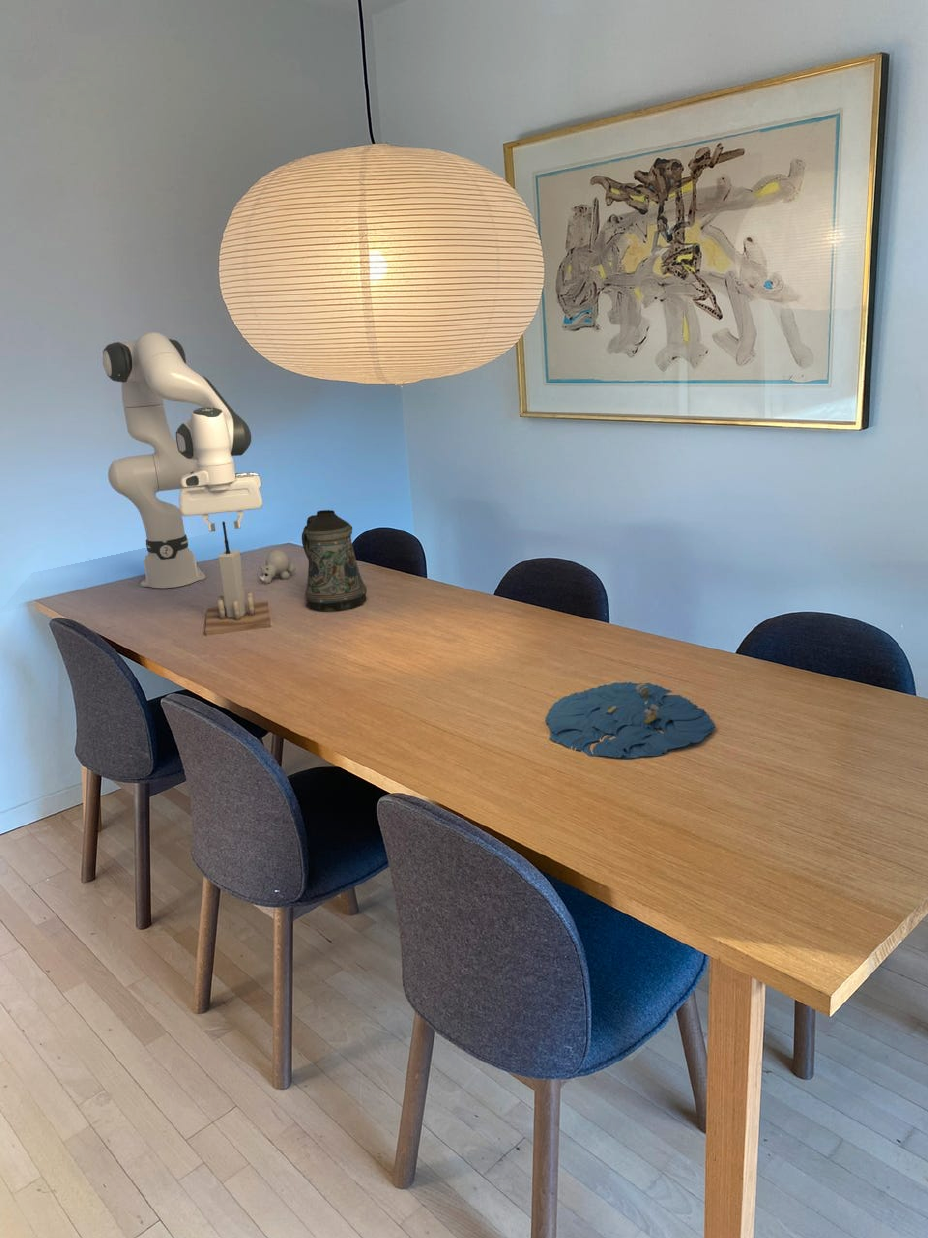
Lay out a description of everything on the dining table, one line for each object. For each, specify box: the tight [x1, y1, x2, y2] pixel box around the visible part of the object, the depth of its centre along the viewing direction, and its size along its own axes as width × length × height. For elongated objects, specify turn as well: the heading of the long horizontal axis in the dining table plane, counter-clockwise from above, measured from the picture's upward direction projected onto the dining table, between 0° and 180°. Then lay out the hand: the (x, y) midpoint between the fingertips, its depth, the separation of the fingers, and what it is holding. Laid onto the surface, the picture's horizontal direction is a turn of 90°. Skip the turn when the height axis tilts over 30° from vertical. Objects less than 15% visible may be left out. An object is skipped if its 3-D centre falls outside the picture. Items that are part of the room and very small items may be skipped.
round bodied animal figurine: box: [259, 549, 296, 585], centre depth 267 cm, size 7×12×8 cm, turn 145°
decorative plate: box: [544, 681, 717, 760], centre depth 160 cm, size 30×30×5 cm
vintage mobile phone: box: [218, 521, 248, 618], centre depth 228 cm, size 4×5×25 cm
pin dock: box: [204, 591, 272, 636], centre depth 232 cm, size 20×16×6 cm
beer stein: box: [301, 509, 368, 613], centre depth 238 cm, size 16×19×25 cm
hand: (225, 529), depth 225 cm, fingers open, 5 cm apart
